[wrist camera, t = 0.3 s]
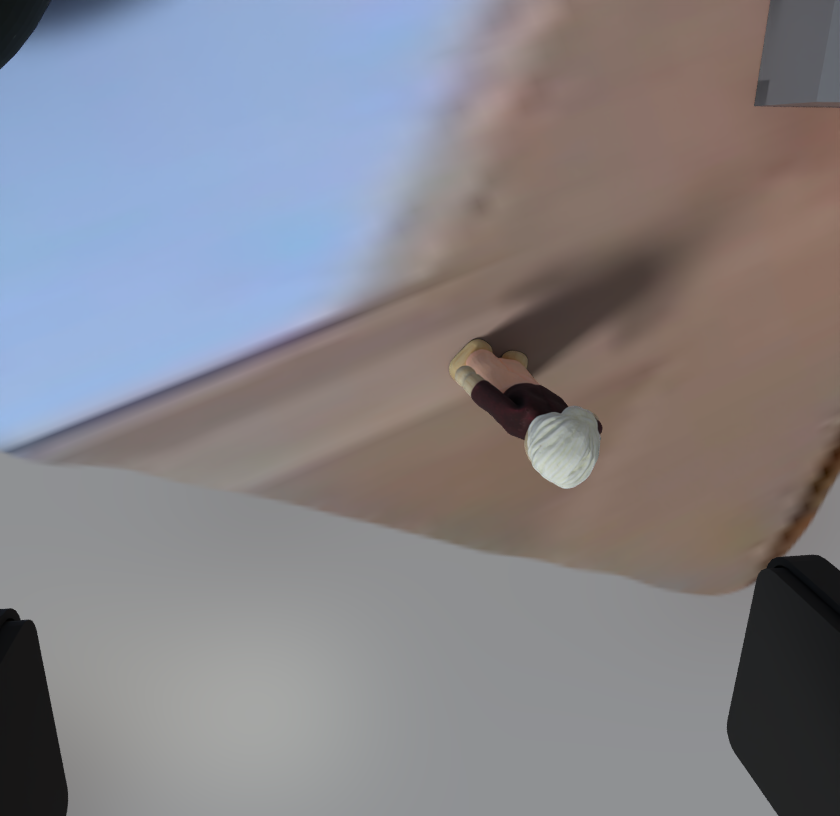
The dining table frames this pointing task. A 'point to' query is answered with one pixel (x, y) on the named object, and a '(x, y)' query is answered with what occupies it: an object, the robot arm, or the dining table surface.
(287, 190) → the dining table surface
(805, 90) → the square open box
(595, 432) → the grandmother figurine
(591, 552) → the dining table surface
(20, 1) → the decorative sphere
